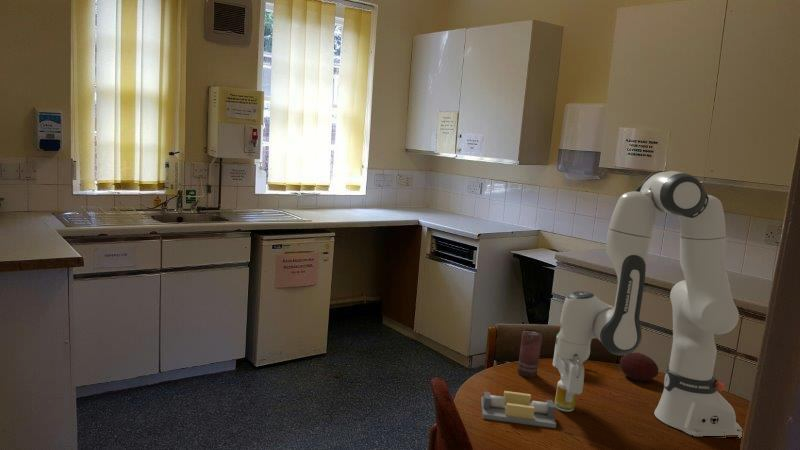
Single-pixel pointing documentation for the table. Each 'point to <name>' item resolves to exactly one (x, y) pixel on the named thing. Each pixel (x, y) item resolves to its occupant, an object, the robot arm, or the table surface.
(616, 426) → the table surface
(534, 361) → the can
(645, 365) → the potato
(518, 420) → the grey slotted holder
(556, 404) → the supplement bottle
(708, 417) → the robot arm
